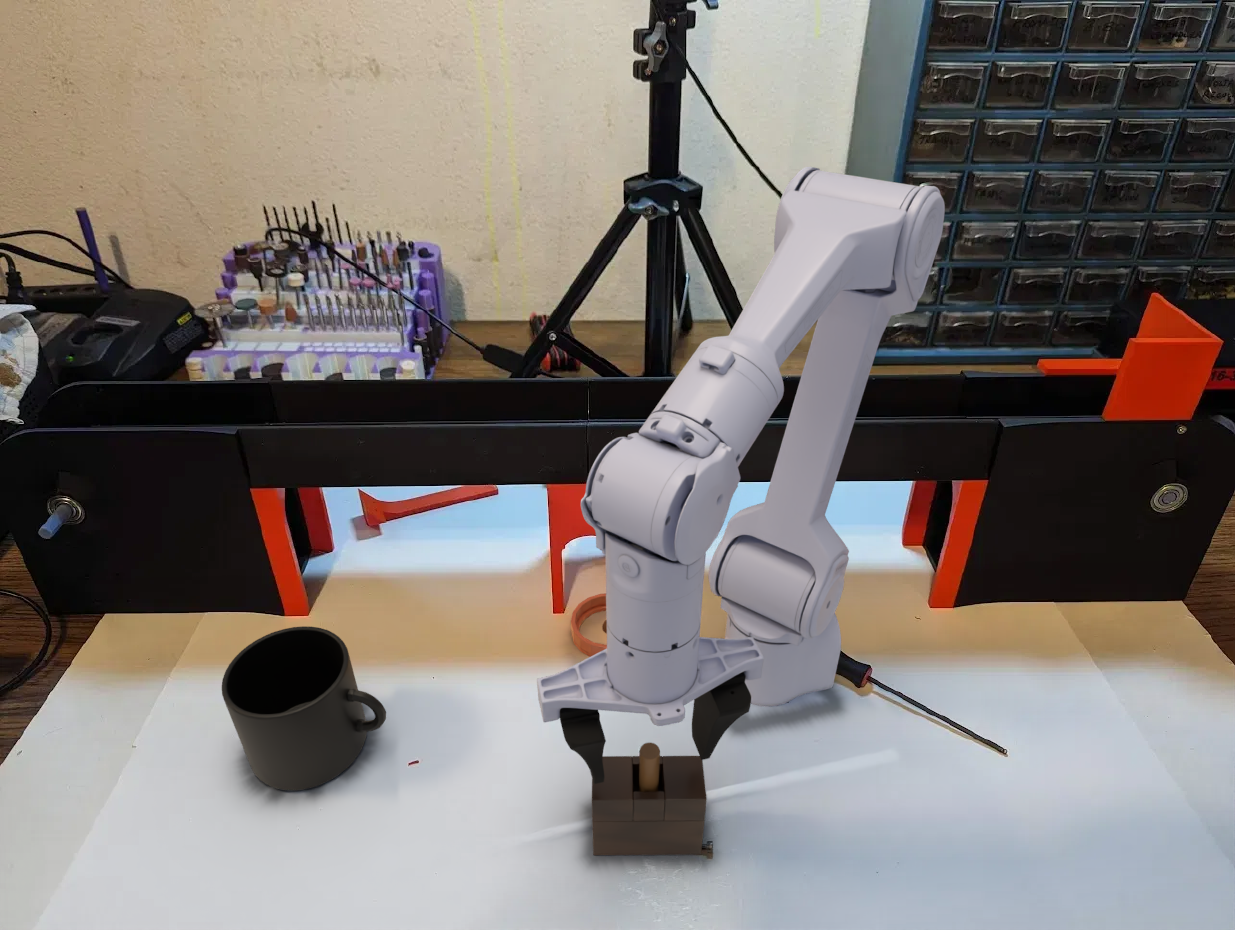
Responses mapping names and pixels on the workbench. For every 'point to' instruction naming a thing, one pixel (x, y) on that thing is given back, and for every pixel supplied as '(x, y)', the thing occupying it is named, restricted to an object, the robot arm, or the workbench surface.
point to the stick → (649, 767)
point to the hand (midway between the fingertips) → (649, 759)
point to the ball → (605, 626)
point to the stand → (649, 808)
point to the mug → (298, 707)
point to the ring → (578, 617)
